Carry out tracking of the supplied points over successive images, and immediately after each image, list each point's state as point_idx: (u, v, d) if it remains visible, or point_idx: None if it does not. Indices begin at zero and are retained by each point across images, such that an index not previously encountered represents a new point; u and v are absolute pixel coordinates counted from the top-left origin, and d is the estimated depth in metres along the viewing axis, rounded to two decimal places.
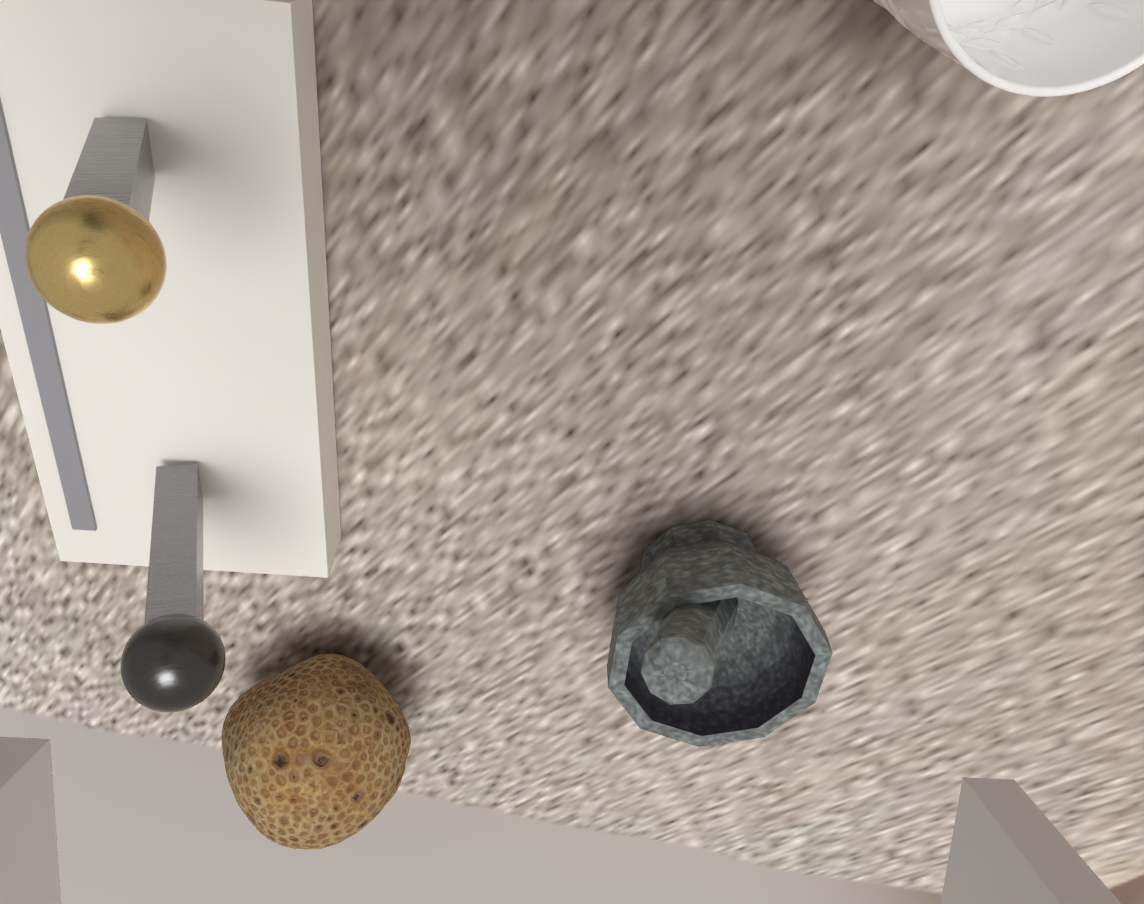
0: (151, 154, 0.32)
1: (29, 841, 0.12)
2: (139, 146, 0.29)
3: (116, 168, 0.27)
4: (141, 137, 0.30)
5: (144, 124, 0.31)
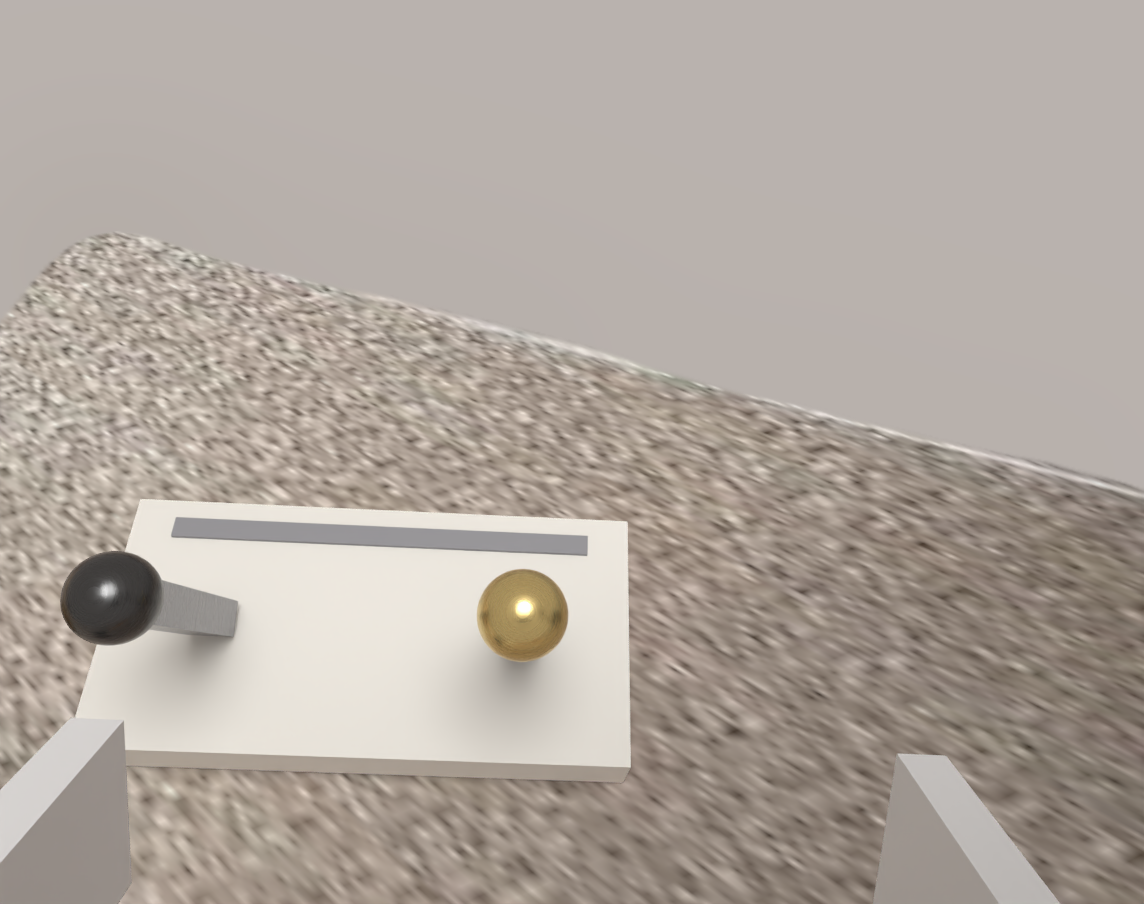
0: None
1: (106, 817, 0.13)
2: None
3: None
4: None
5: None
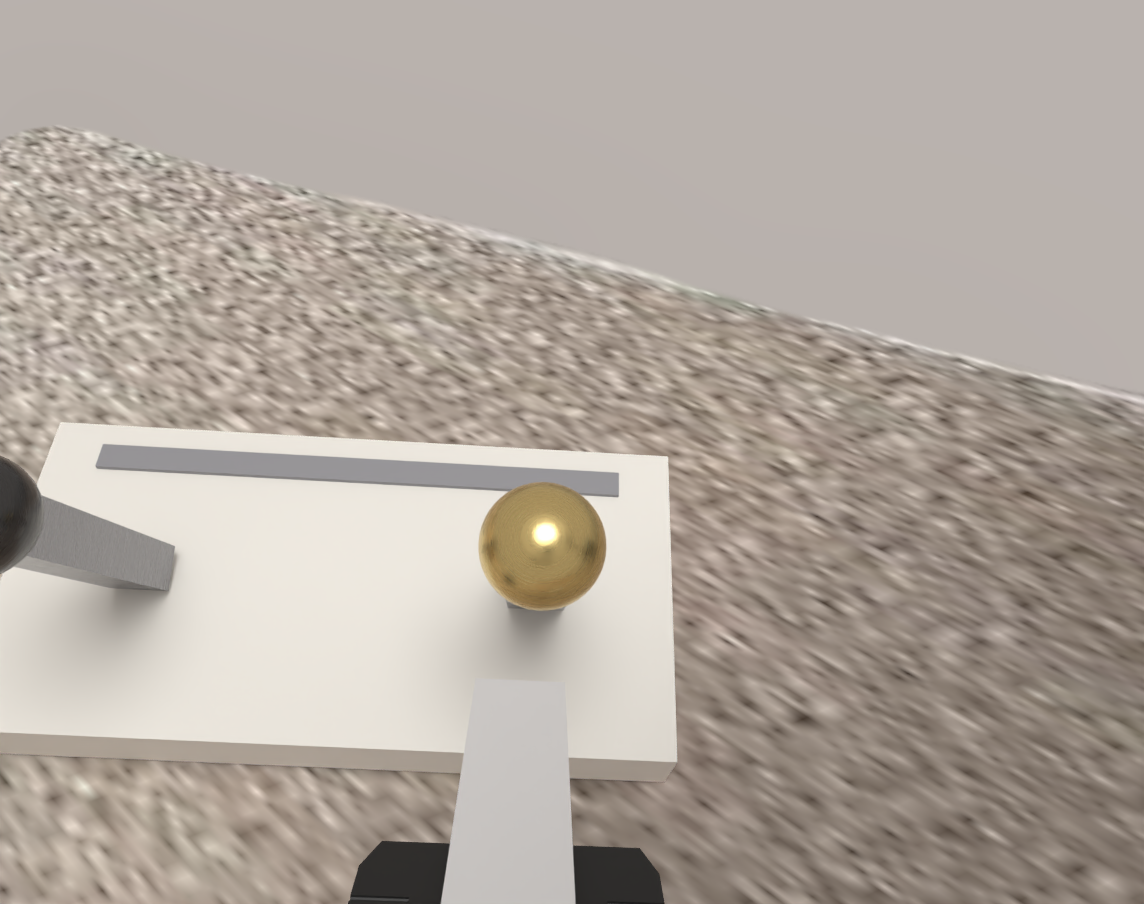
0: None
1: None
2: None
3: None
4: None
5: (563, 608, 0.33)
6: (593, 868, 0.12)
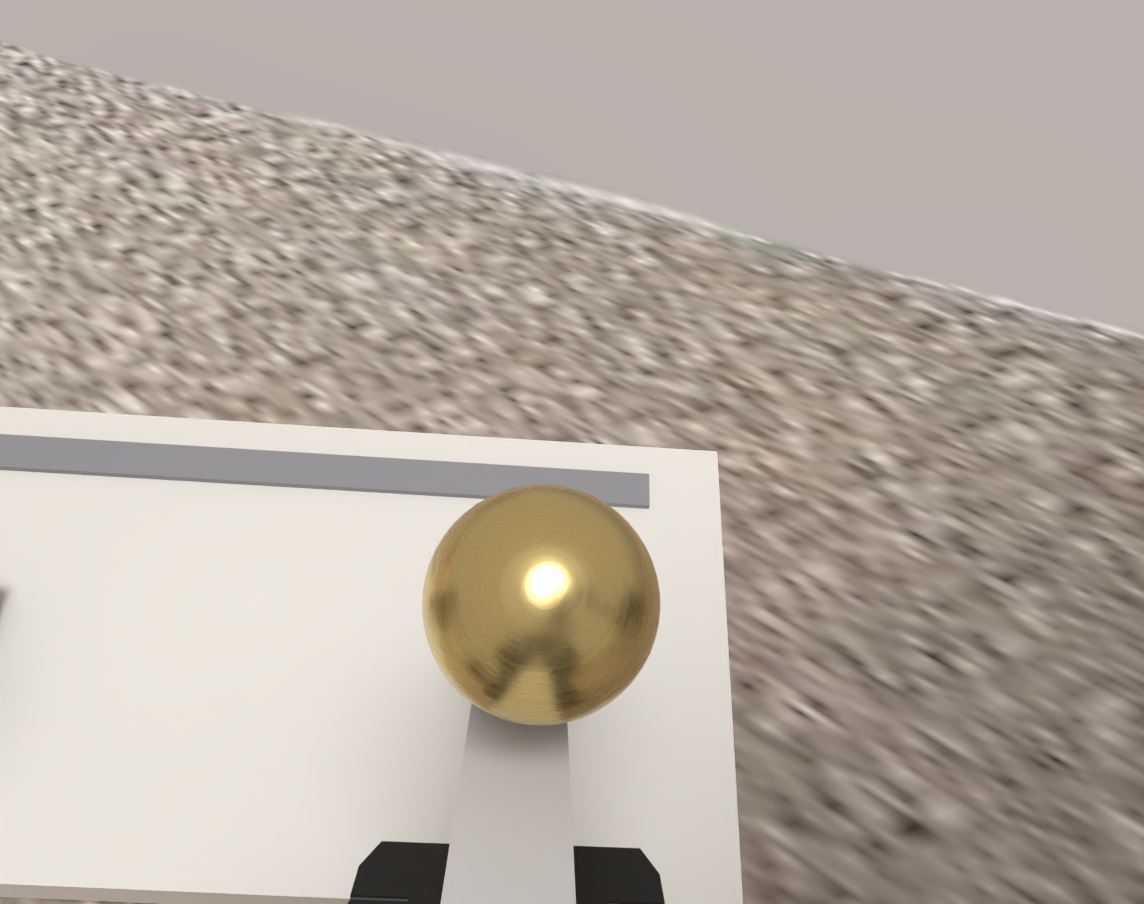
0: None
1: None
2: None
3: None
4: None
5: None
6: (594, 868, 0.12)
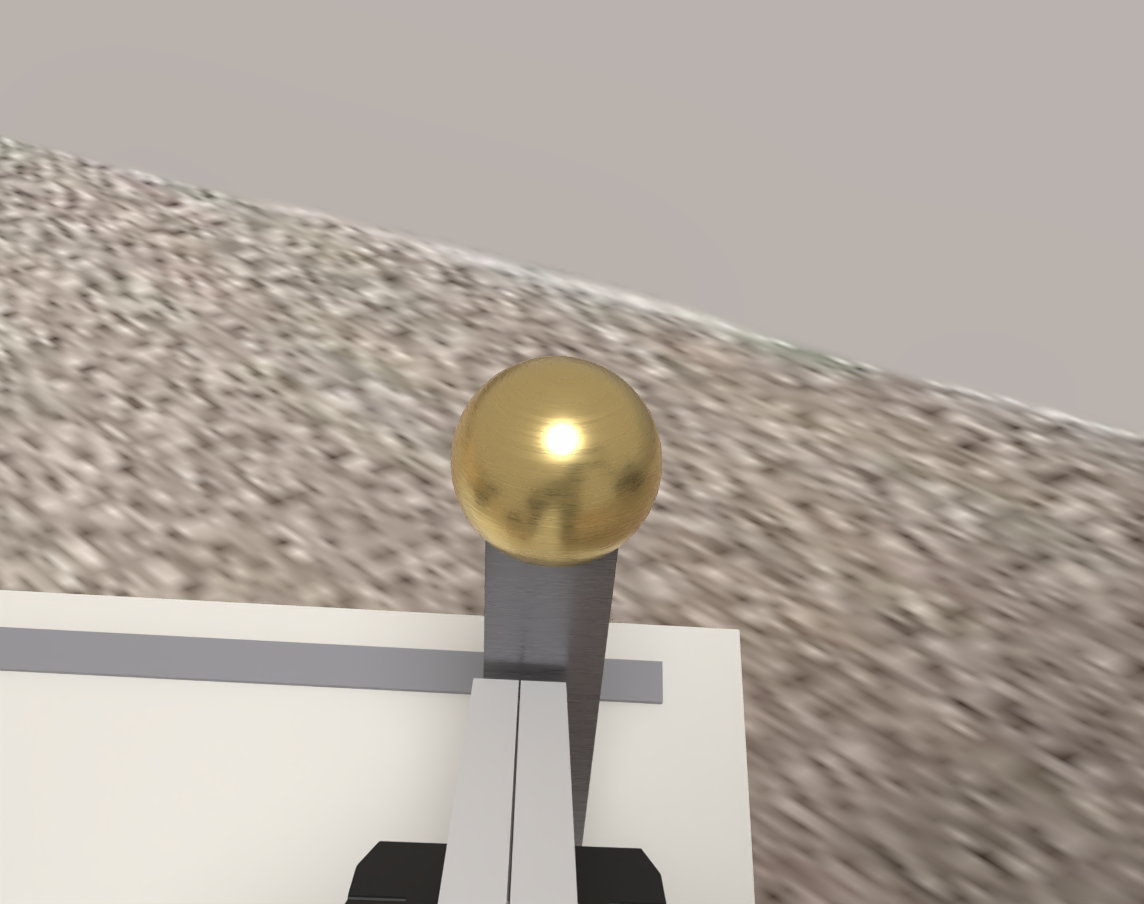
0: None
1: None
2: (587, 796, 0.18)
3: None
4: None
5: None
6: (595, 868, 0.12)
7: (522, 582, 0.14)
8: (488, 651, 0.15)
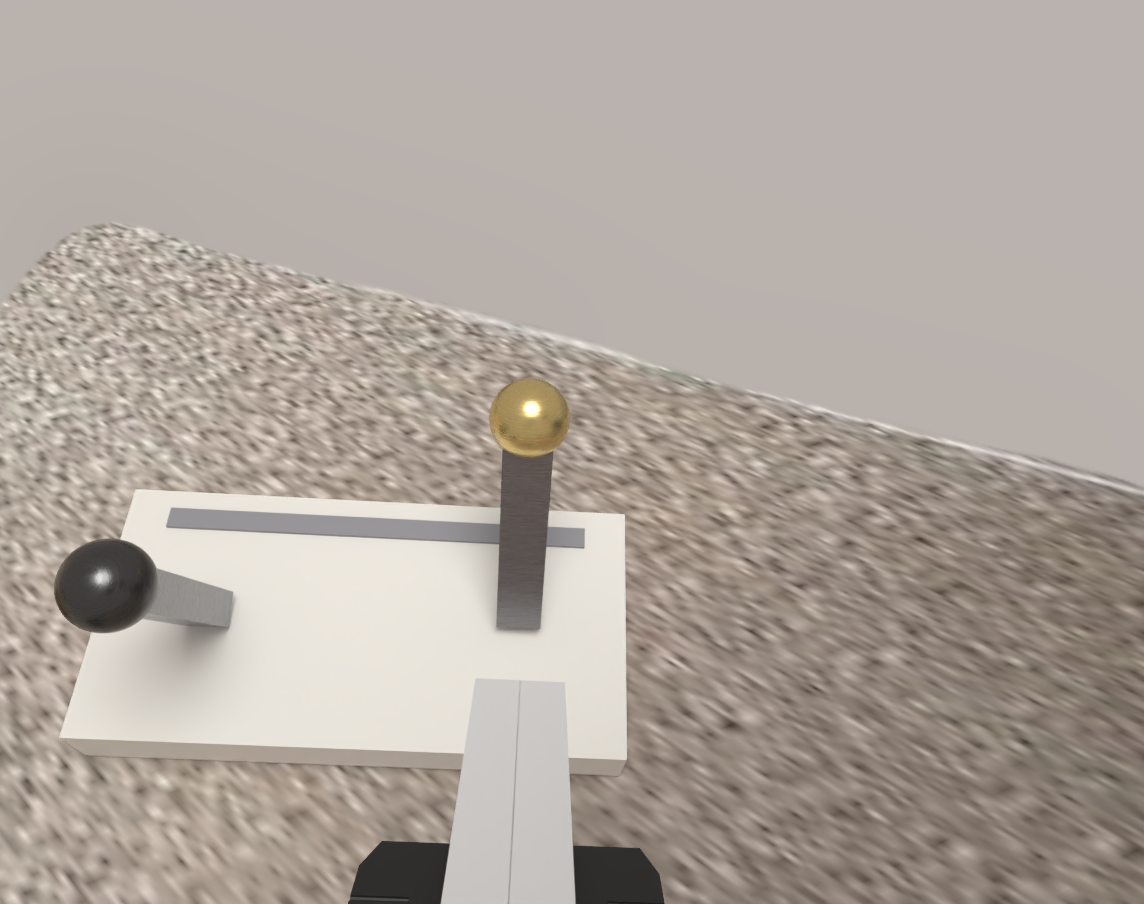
0: (514, 626, 0.42)
1: None
2: (544, 567, 0.40)
3: None
4: None
5: (540, 615, 0.42)
6: (593, 868, 0.12)
7: (516, 465, 0.37)
8: (502, 496, 0.38)
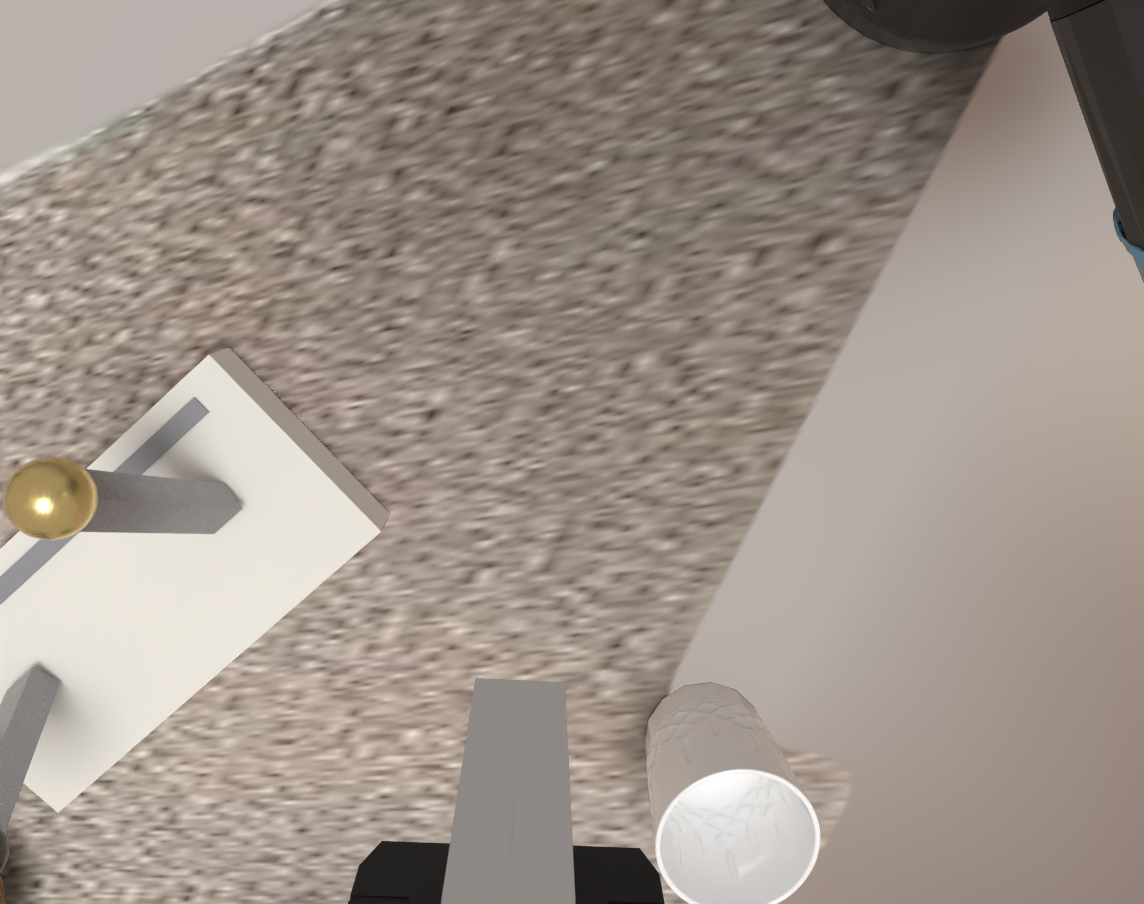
0: (224, 523, 0.46)
1: None
2: (195, 504, 0.43)
3: (155, 494, 0.40)
4: (210, 505, 0.44)
5: (232, 507, 0.45)
6: (593, 868, 0.12)
7: (88, 522, 0.38)
8: (107, 531, 0.39)
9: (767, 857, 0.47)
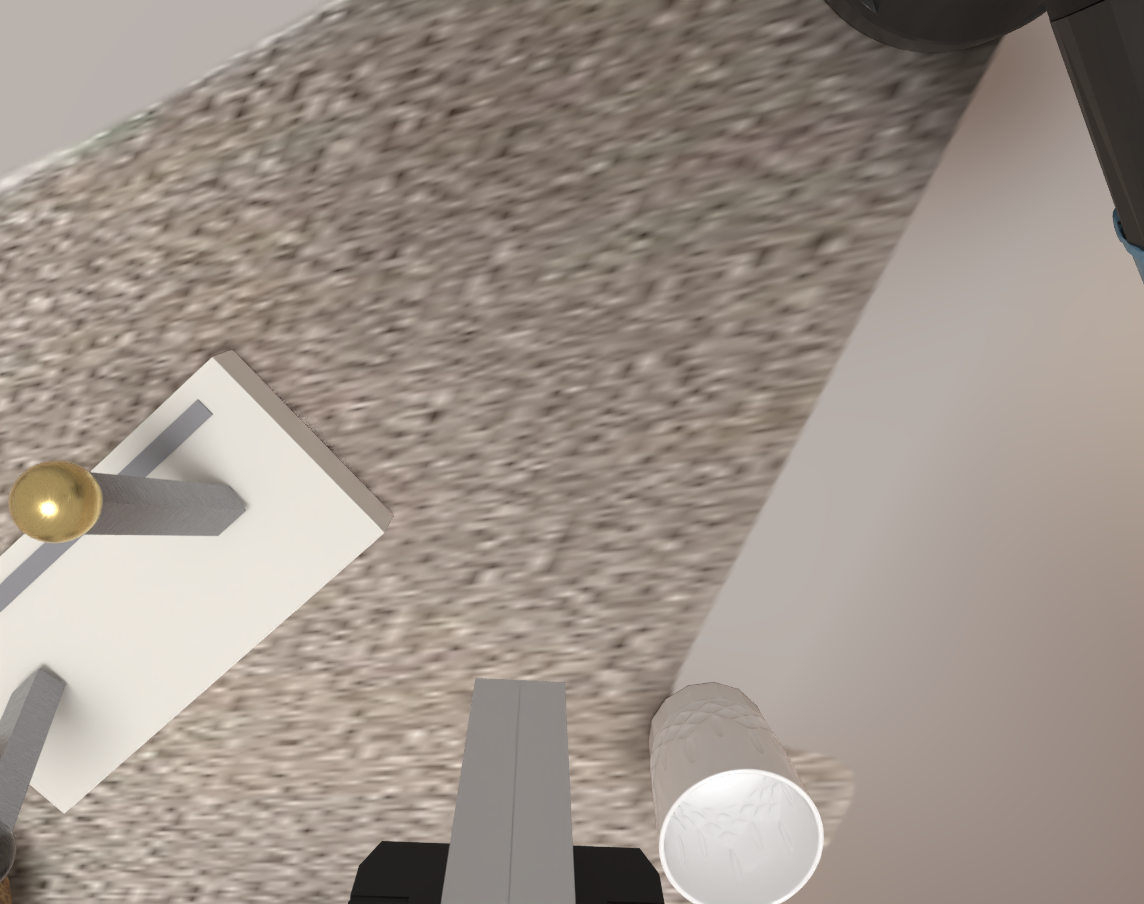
0: (228, 525, 0.46)
1: None
2: (200, 507, 0.43)
3: (159, 496, 0.41)
4: (214, 508, 0.44)
5: (236, 509, 0.45)
6: (593, 868, 0.12)
7: None
8: (112, 534, 0.39)
9: (771, 856, 0.47)
